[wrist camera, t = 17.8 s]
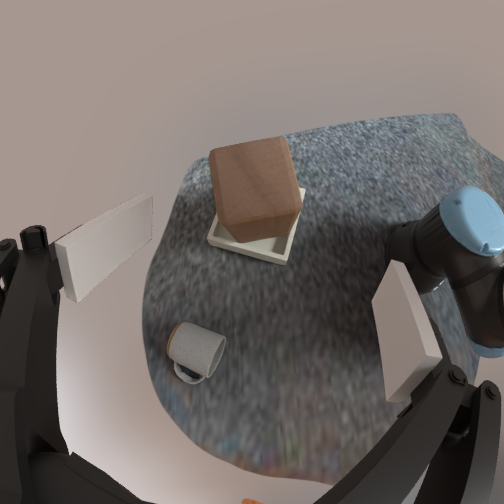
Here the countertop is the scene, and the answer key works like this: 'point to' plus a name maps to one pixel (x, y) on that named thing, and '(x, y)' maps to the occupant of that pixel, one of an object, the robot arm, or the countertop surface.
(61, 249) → the robot arm
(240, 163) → the wooden block
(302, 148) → the countertop surface
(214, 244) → the sage tray
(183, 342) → the ceramic mug
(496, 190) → the countertop surface
